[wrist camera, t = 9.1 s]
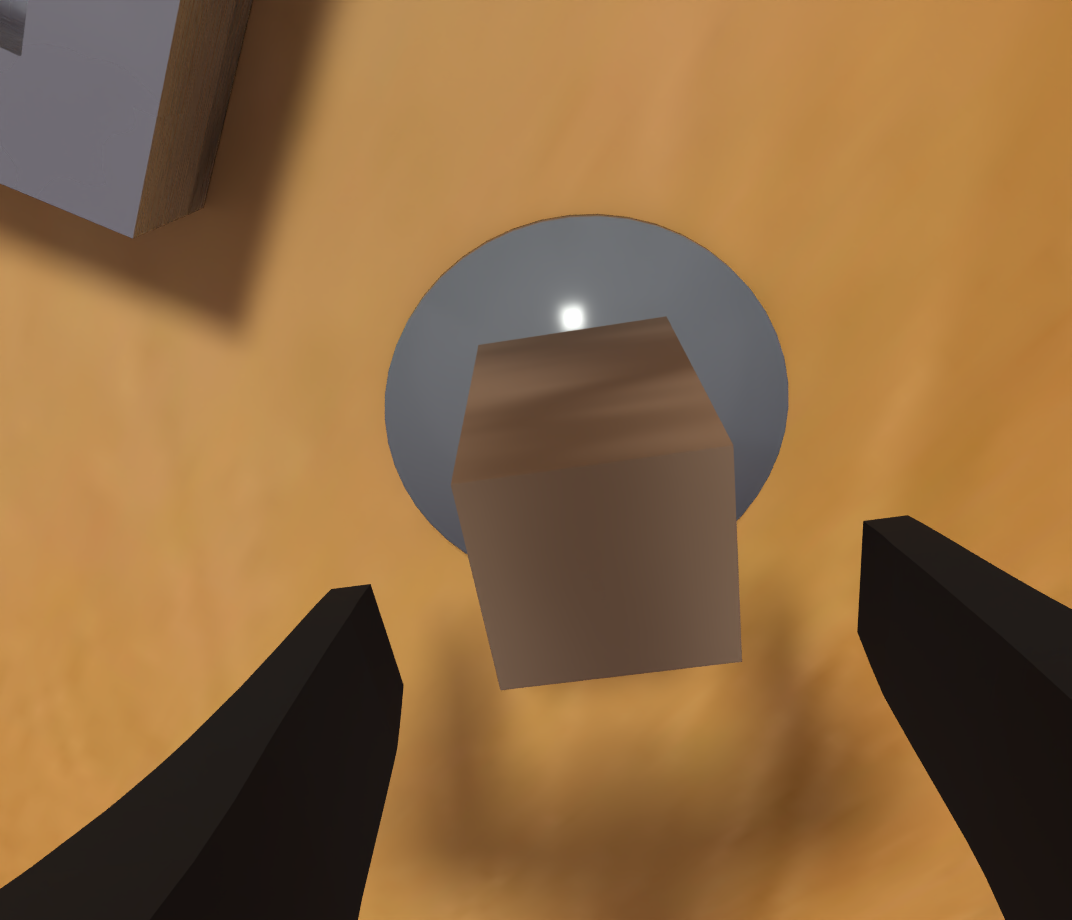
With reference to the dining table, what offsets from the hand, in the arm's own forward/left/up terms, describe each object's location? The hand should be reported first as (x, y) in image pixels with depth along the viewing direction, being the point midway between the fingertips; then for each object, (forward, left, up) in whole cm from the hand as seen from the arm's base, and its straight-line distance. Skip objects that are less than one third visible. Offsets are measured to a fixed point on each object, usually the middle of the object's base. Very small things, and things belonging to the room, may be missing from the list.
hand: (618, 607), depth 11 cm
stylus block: (0, 0, -7) cm, 7 cm away
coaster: (0, 0, -7) cm, 7 cm away
